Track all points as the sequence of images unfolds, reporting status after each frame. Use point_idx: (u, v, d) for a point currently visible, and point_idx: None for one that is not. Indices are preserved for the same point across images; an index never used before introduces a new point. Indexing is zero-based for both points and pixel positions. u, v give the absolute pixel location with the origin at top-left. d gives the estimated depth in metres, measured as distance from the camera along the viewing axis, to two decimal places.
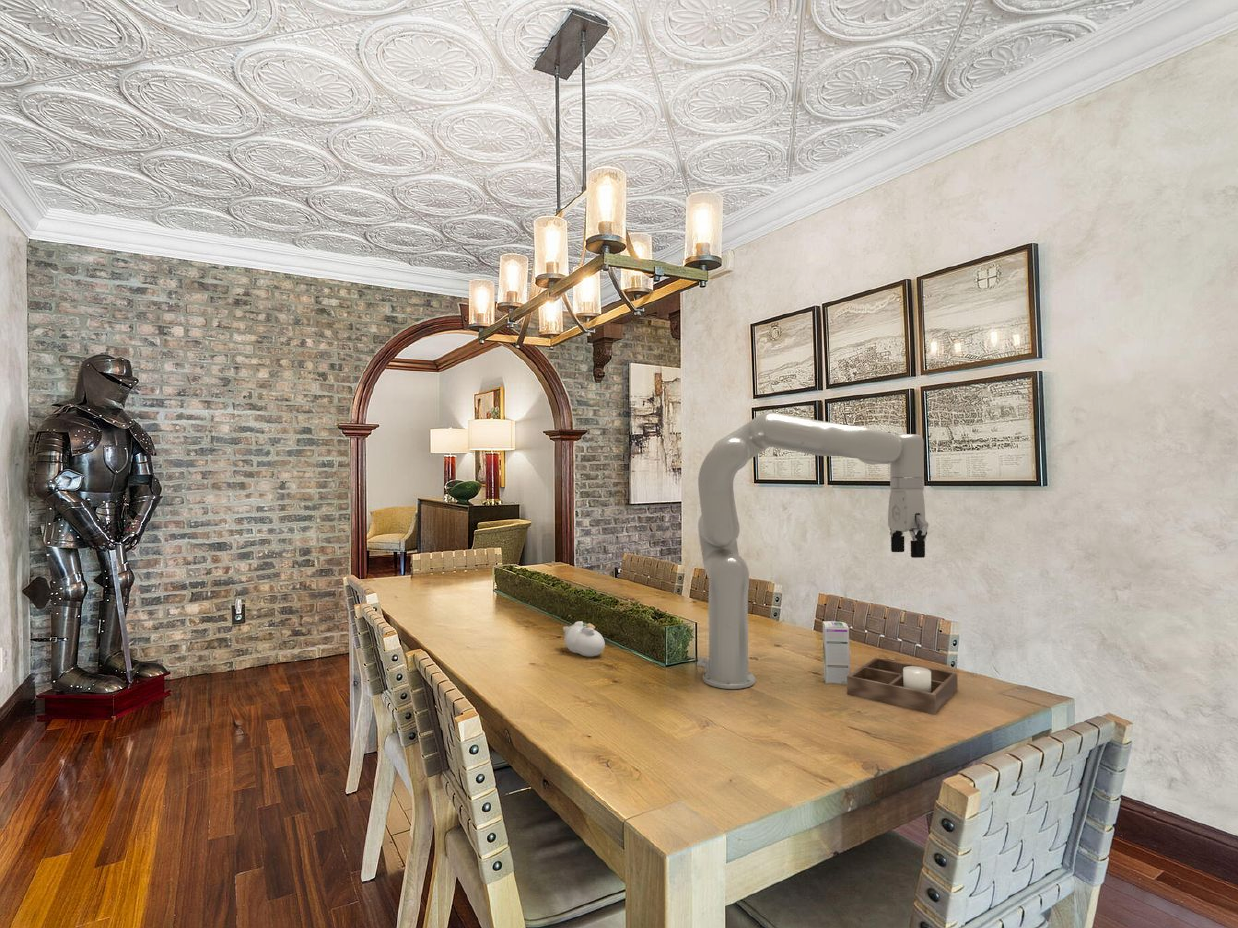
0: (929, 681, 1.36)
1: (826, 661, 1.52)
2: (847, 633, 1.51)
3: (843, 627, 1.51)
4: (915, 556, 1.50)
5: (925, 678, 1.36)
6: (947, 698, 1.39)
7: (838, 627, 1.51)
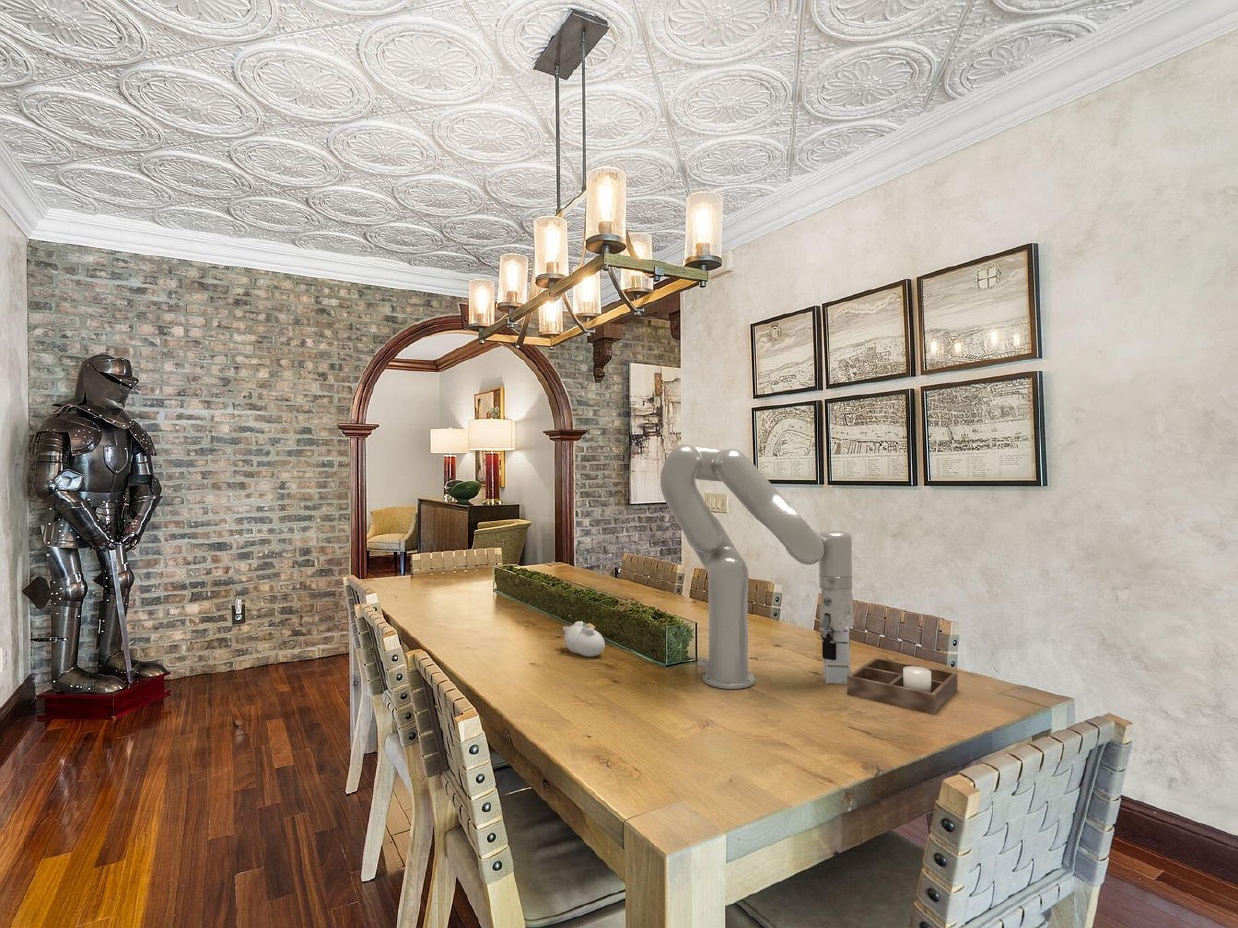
0: (929, 681, 1.36)
1: (826, 661, 1.52)
2: (847, 633, 1.51)
3: None
4: None
5: (925, 678, 1.36)
6: (947, 698, 1.39)
7: None
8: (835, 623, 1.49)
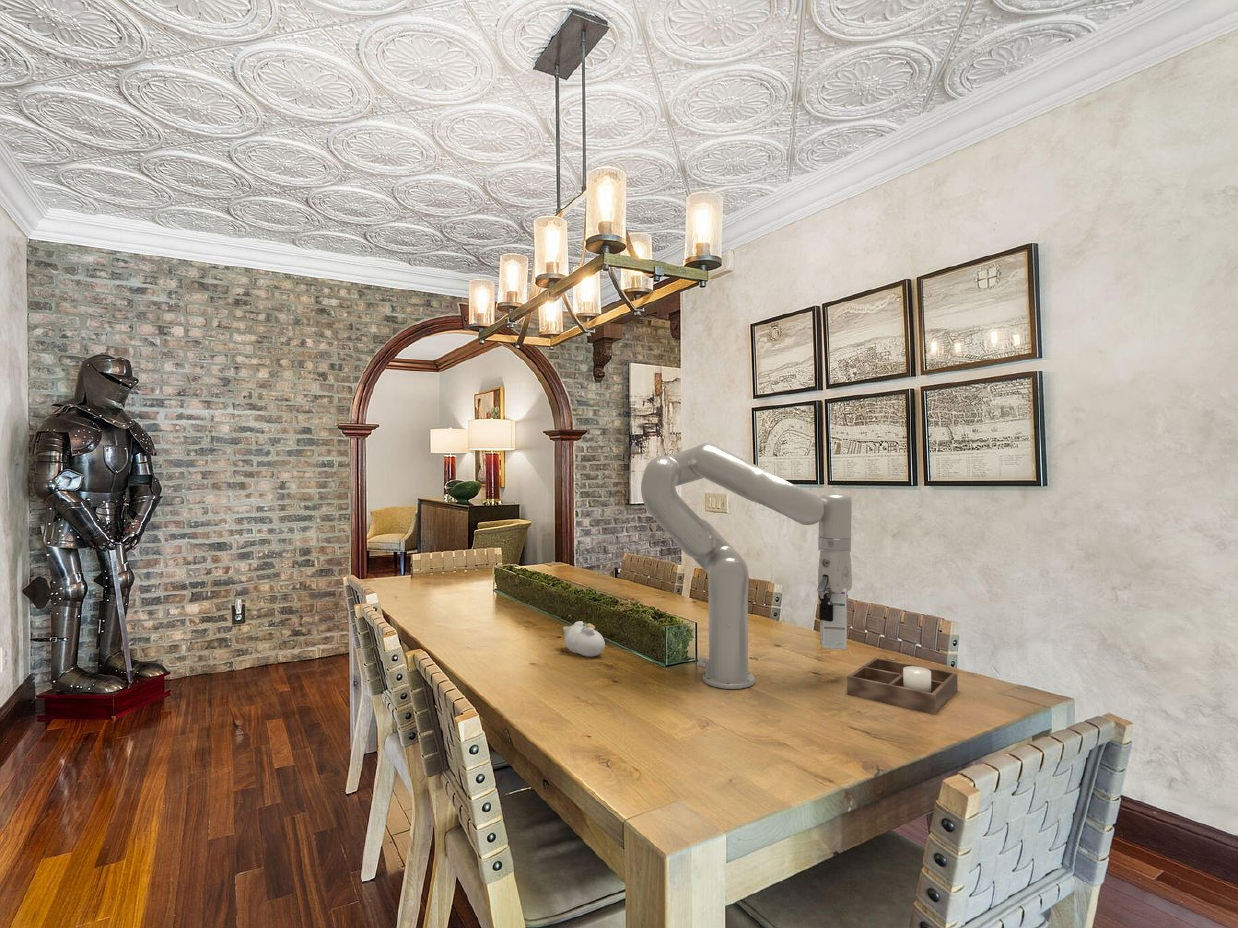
0: (929, 681, 1.36)
1: (823, 623, 1.52)
2: (845, 595, 1.51)
3: None
4: None
5: (925, 678, 1.36)
6: (947, 698, 1.39)
7: None
8: (833, 584, 1.49)
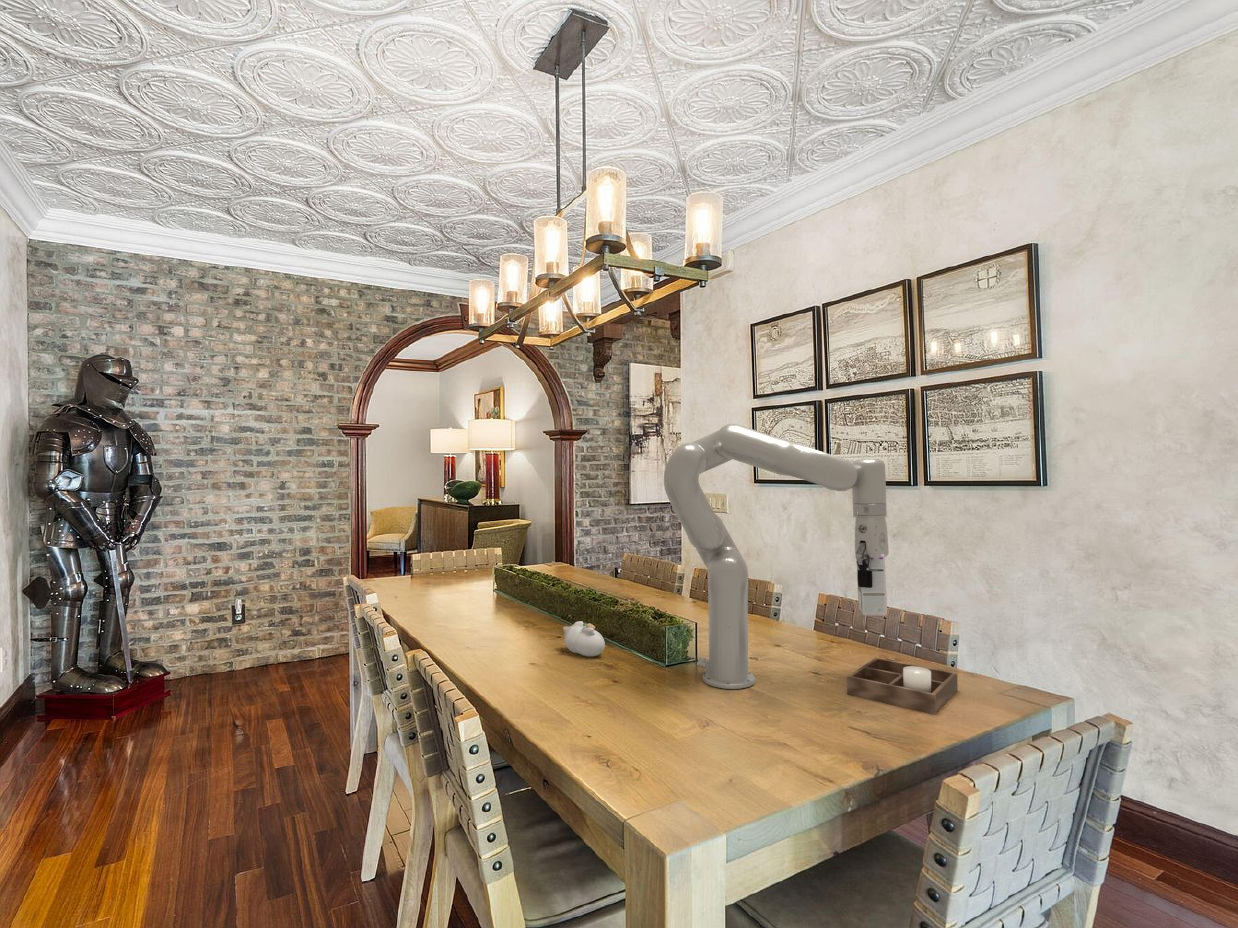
0: (929, 681, 1.36)
1: (862, 589, 1.50)
2: (883, 560, 1.49)
3: None
4: None
5: (925, 678, 1.36)
6: (947, 698, 1.39)
7: None
8: (871, 550, 1.47)
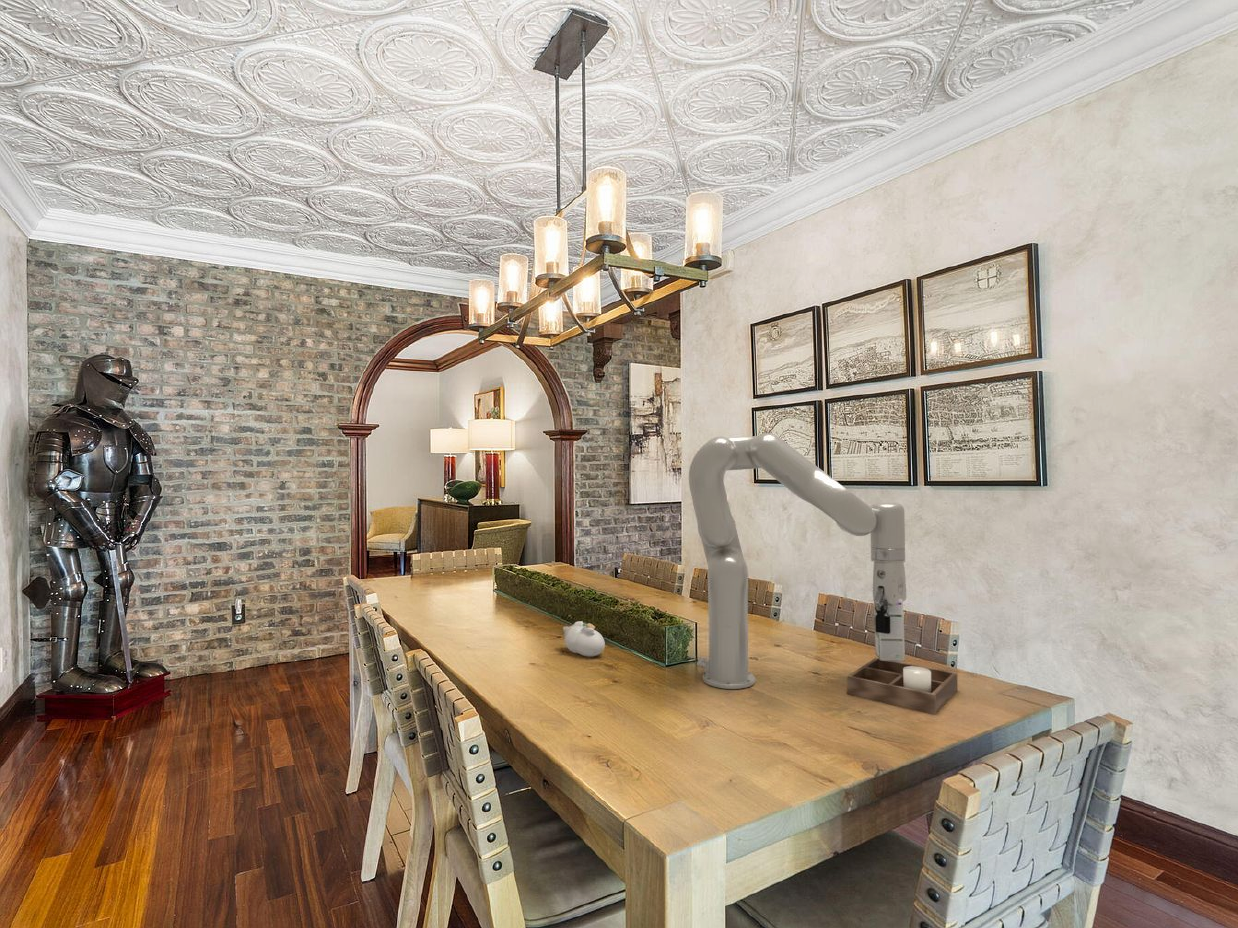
0: (929, 681, 1.36)
1: (879, 635, 1.49)
2: (901, 606, 1.48)
3: None
4: None
5: (925, 678, 1.36)
6: (947, 698, 1.39)
7: None
8: (889, 596, 1.46)
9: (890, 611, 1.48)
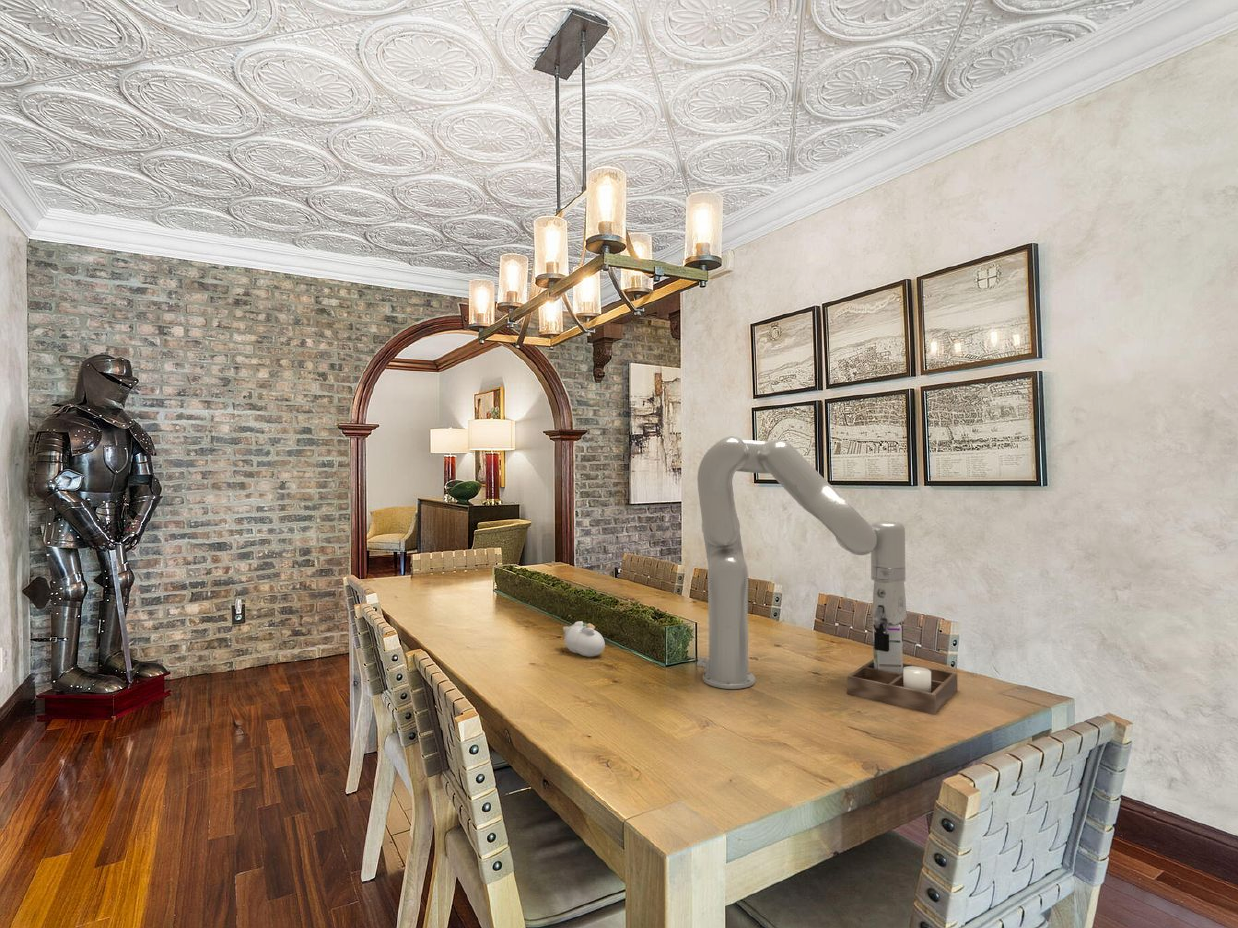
0: (929, 681, 1.36)
1: (878, 660, 1.49)
2: (900, 632, 1.48)
3: (895, 625, 1.48)
4: None
5: (925, 678, 1.36)
6: (947, 698, 1.39)
7: (890, 625, 1.48)
8: (889, 615, 1.46)
9: (889, 637, 1.48)
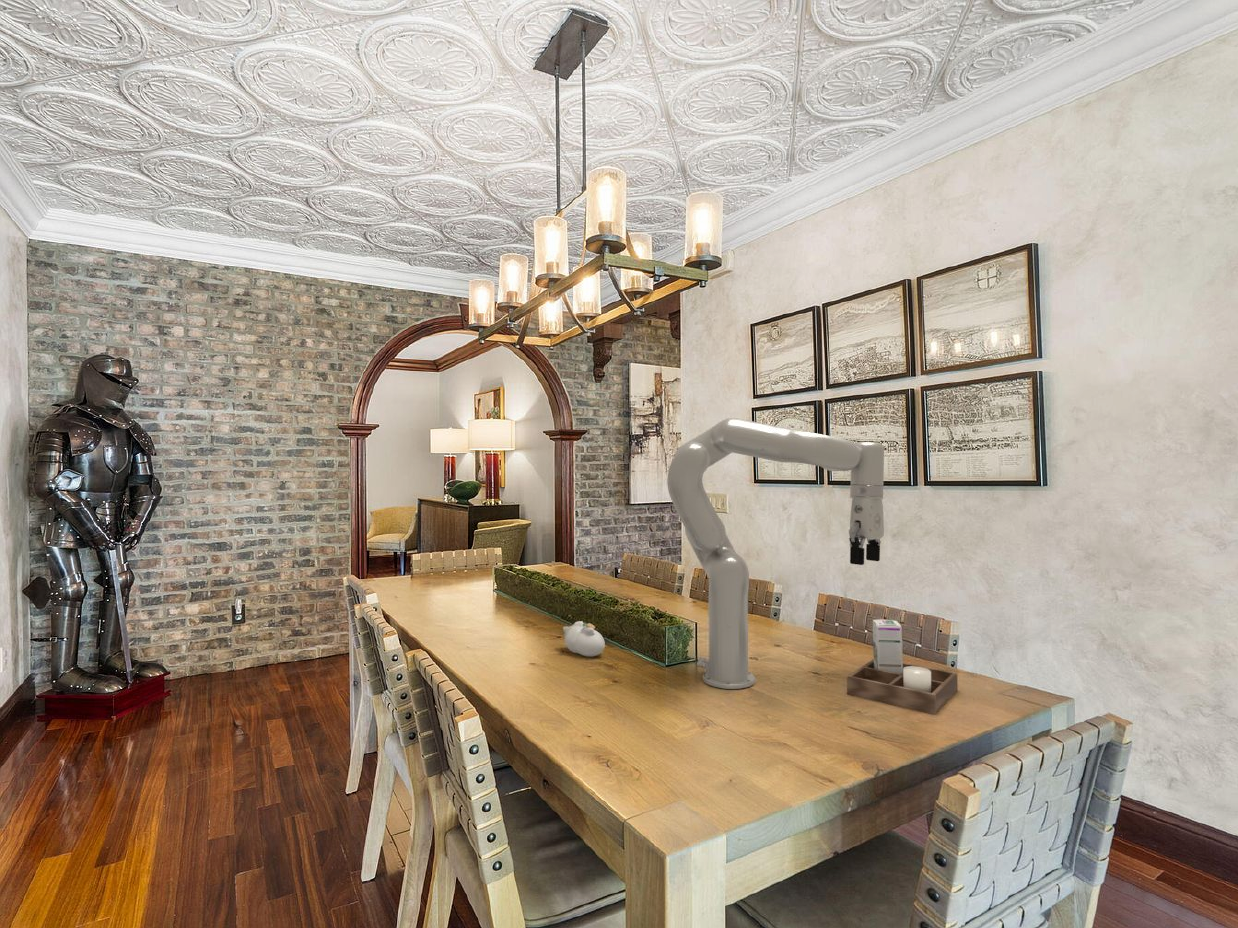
0: (929, 681, 1.36)
1: (878, 660, 1.49)
2: (900, 632, 1.48)
3: (895, 625, 1.48)
4: None
5: (925, 678, 1.36)
6: (947, 698, 1.39)
7: (890, 625, 1.48)
8: (865, 529, 1.51)
9: (889, 637, 1.48)
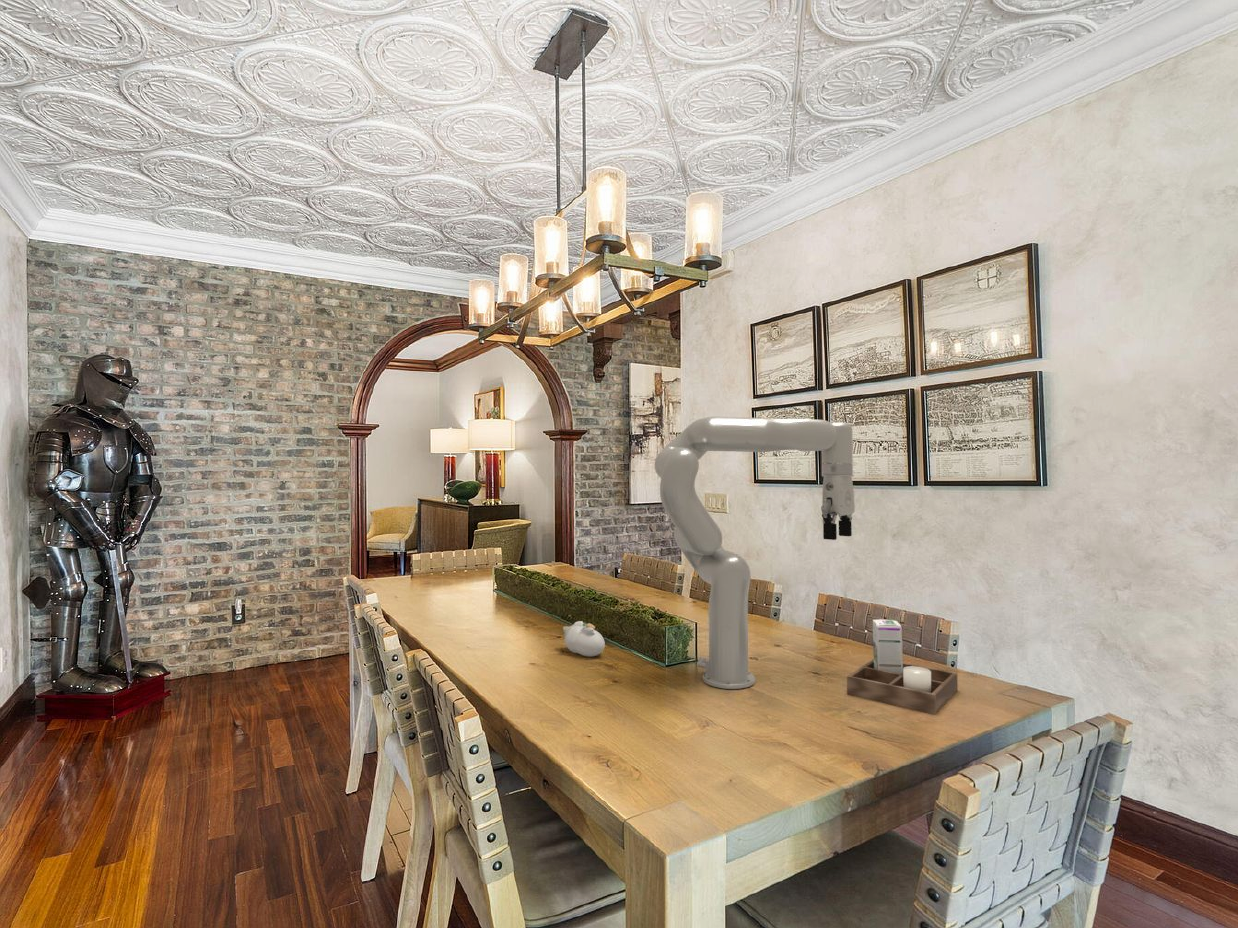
0: (929, 681, 1.36)
1: (878, 660, 1.49)
2: (900, 632, 1.48)
3: (895, 625, 1.48)
4: None
5: (925, 678, 1.36)
6: (947, 698, 1.39)
7: (890, 625, 1.48)
8: (836, 506, 1.58)
9: (889, 637, 1.48)
